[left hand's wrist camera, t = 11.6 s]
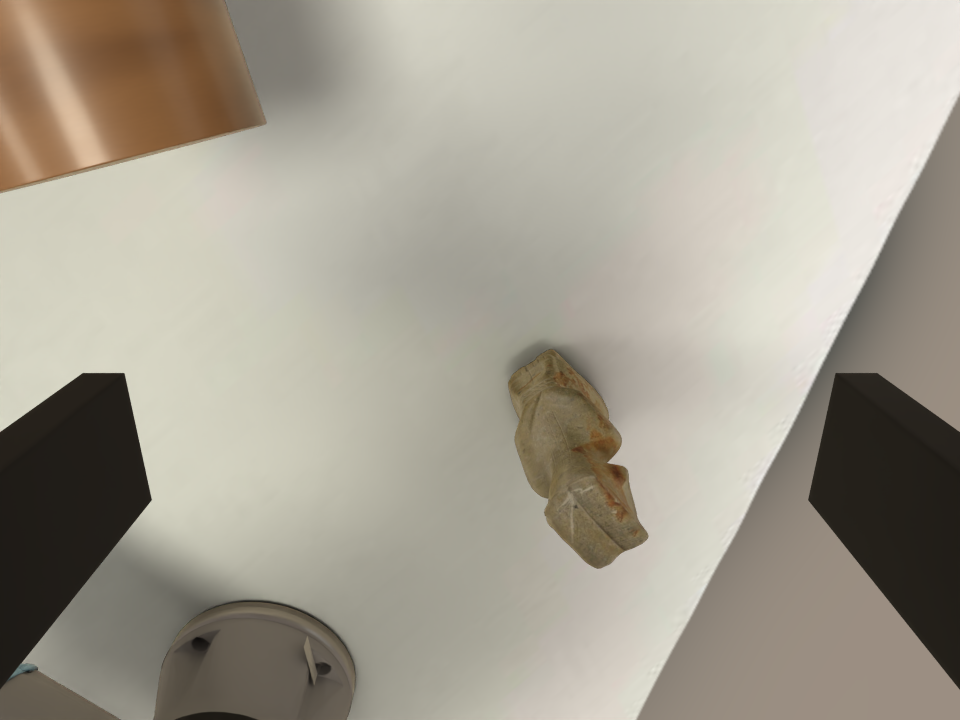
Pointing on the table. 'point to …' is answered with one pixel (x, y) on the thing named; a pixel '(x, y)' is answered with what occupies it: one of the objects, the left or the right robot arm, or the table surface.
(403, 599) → the table surface
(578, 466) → the sculpture
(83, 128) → the rod
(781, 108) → the table surface
